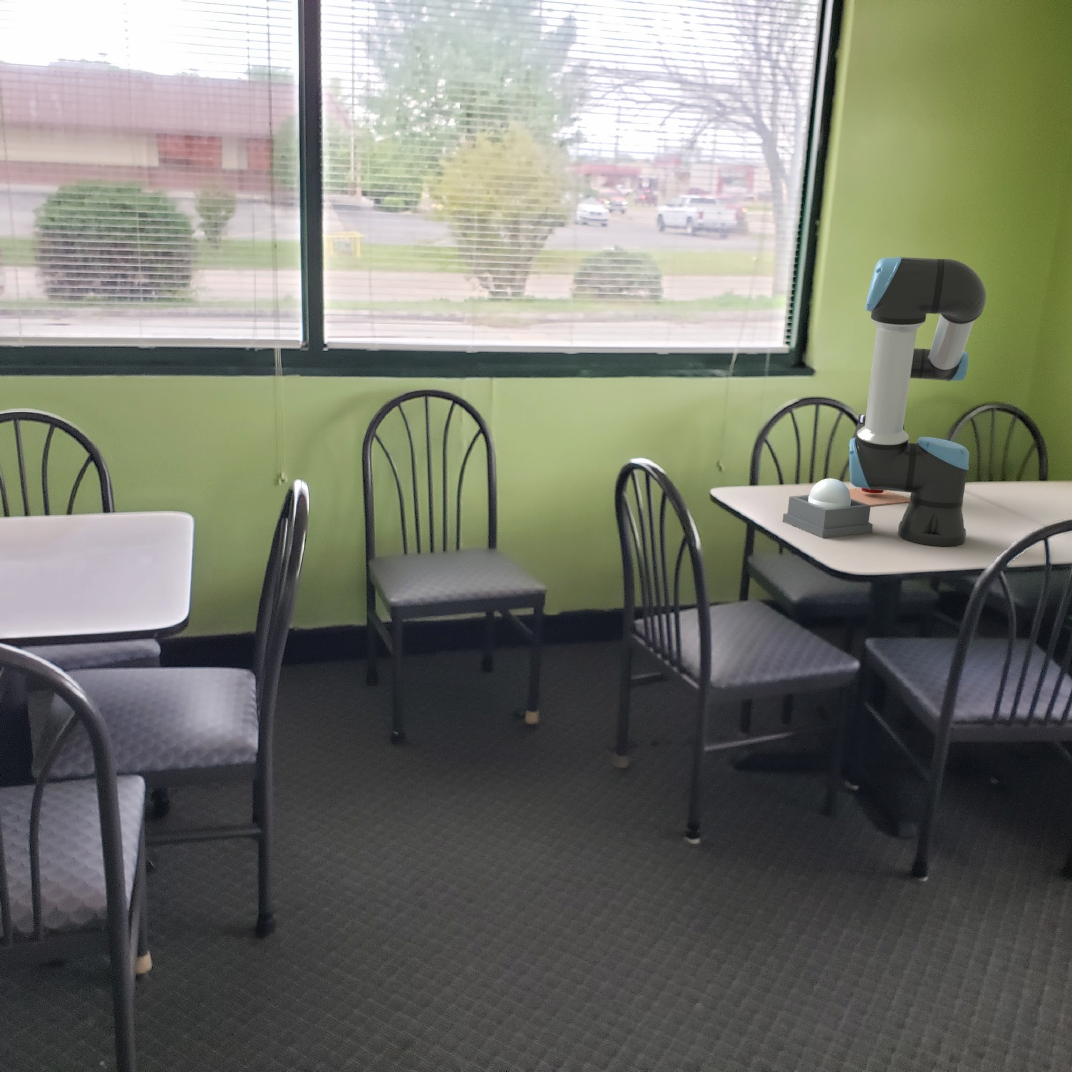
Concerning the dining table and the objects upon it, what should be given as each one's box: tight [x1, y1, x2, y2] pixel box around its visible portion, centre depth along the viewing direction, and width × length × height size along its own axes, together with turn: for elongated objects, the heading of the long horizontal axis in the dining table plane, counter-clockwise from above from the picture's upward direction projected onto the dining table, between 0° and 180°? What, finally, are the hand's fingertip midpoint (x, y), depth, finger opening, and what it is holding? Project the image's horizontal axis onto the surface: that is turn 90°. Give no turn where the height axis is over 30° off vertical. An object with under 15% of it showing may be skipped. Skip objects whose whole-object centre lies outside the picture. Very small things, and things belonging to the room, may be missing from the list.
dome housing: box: [782, 494, 873, 539], centre depth 250 cm, size 15×15×6 cm
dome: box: [808, 478, 851, 509], centre depth 249 cm, size 10×10×10 cm
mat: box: [848, 487, 910, 507], centre depth 281 cm, size 16×16×1 cm
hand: (874, 475), depth 279 cm, fingers closed on plastic cup, 11 cm apart
